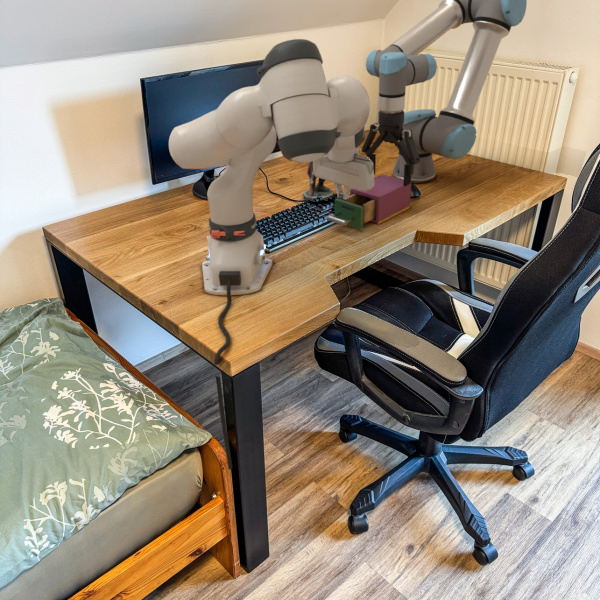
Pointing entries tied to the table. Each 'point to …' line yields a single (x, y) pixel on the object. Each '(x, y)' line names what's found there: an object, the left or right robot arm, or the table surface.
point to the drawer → (354, 211)
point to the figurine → (316, 190)
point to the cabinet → (387, 197)
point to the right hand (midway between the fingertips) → (388, 180)
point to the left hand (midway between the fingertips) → (343, 198)
